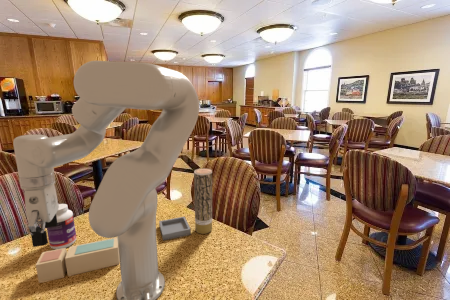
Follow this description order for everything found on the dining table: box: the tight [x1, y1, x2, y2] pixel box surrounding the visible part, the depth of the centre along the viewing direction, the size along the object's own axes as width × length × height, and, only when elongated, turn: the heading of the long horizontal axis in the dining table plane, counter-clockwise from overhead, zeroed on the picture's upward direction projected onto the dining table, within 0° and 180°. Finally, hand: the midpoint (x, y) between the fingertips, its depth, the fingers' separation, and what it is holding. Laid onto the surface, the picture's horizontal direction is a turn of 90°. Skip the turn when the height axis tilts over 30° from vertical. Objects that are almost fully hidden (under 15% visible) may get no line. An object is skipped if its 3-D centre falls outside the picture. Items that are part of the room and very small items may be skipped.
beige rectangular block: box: [65, 237, 120, 277], centre depth 73 cm, size 6×14×6 cm, turn 112°
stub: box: [35, 247, 68, 284], centre depth 69 cm, size 6×6×6 cm
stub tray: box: [158, 216, 192, 241], centre depth 93 cm, size 11×11×2 cm
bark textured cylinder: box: [193, 167, 213, 235], centre depth 91 cm, size 7×7×25 cm
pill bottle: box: [46, 203, 77, 250], centre depth 82 cm, size 8×8×14 cm
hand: (46, 235), depth 67 cm, fingers open, 9 cm apart
